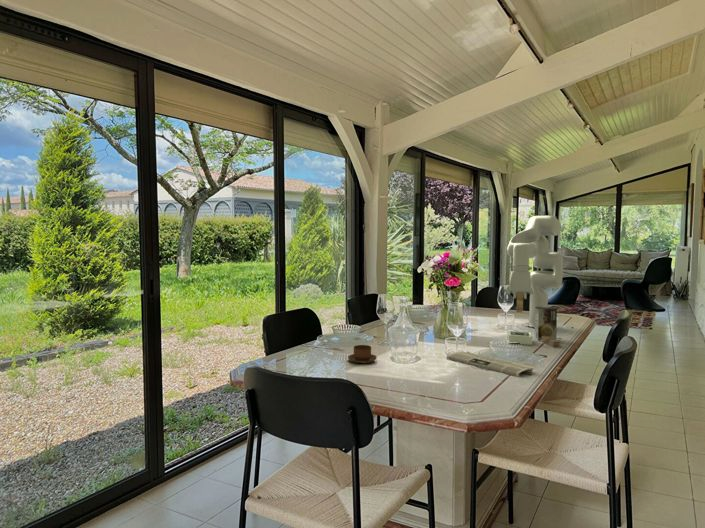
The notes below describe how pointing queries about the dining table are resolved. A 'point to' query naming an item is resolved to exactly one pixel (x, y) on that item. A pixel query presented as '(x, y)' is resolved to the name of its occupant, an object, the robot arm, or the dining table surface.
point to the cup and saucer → (362, 354)
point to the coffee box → (545, 322)
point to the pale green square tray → (520, 337)
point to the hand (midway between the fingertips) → (519, 306)
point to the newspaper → (491, 363)
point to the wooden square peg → (519, 302)
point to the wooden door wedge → (550, 341)
